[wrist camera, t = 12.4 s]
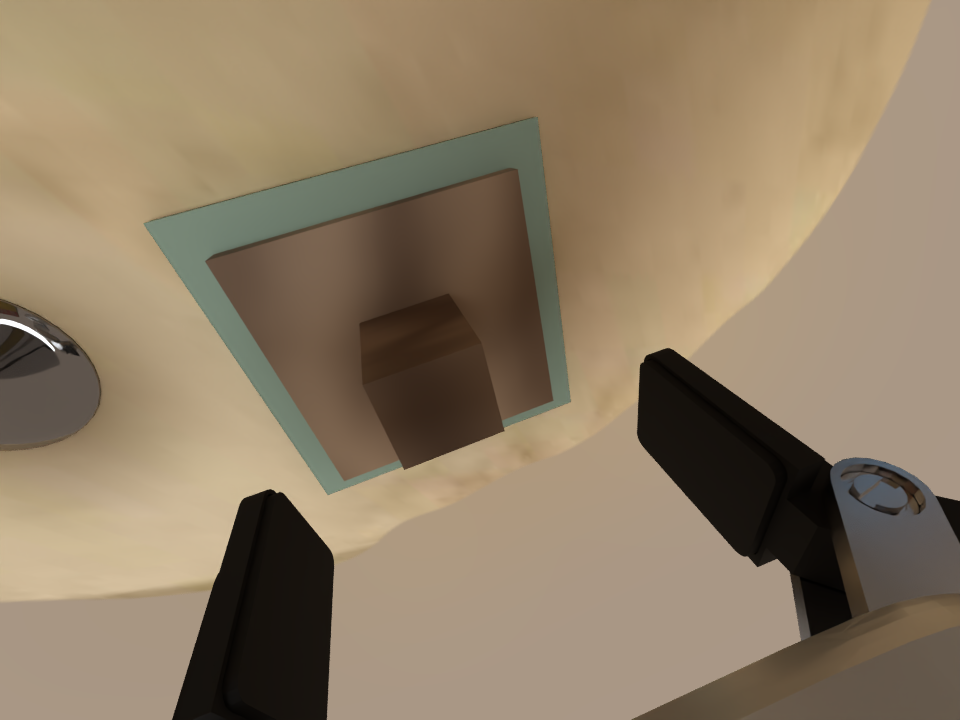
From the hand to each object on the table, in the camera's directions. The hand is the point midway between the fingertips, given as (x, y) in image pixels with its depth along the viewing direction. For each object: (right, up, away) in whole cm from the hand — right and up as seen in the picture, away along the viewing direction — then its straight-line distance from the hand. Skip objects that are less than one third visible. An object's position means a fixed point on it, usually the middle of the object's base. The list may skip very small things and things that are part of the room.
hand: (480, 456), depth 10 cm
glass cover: (-3, +4, +9) cm, 10 cm away
